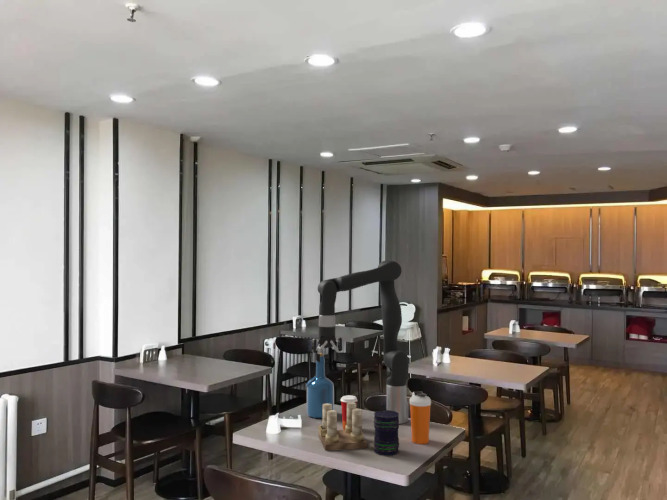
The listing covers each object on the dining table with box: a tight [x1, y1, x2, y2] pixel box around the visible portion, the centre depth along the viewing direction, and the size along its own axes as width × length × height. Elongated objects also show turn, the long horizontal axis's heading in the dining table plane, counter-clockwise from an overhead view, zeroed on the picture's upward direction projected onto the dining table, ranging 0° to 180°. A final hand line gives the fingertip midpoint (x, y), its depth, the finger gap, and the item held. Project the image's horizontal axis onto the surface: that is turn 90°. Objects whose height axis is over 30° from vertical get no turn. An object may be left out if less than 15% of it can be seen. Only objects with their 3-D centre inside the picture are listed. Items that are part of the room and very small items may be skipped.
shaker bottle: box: [408, 391, 432, 445], centre depth 230 cm, size 9×9×20 cm
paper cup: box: [339, 395, 359, 430], centre depth 246 cm, size 8×8×14 cm
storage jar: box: [373, 403, 400, 457], centre depth 217 cm, size 10×10×18 cm
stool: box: [318, 402, 368, 452], centre depth 228 cm, size 17×17×14 cm
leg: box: [322, 403, 332, 430], centre depth 232 cm, size 4×4×12 cm
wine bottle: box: [305, 352, 335, 419], centre depth 268 cm, size 14×13×30 cm
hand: (327, 361), depth 247 cm, fingers open, 8 cm apart
